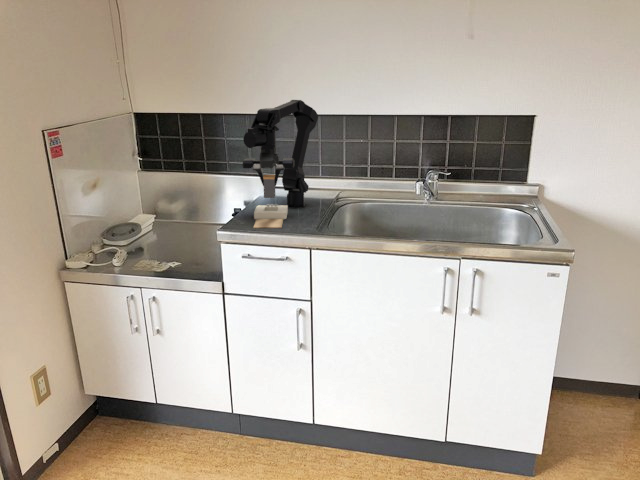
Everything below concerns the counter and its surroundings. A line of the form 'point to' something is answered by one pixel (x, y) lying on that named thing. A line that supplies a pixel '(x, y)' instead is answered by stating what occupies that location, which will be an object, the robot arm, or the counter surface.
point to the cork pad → (268, 223)
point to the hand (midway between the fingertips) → (269, 185)
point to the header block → (271, 211)
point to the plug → (269, 186)
